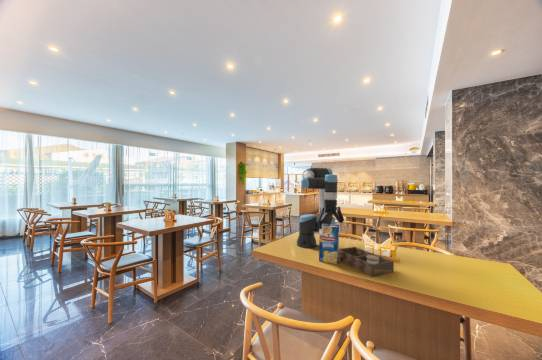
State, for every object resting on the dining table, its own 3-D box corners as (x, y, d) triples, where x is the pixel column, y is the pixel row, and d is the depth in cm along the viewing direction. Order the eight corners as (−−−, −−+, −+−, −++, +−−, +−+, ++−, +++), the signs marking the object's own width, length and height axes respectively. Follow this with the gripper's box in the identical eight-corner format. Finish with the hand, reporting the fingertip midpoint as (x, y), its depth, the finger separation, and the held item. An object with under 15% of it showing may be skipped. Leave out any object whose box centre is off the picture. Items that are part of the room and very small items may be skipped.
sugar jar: (363, 268, 124) (363, 255, 124) (371, 266, 127) (372, 254, 127) (373, 272, 118) (373, 259, 118) (381, 270, 121) (381, 258, 121)
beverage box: (337, 264, 130) (337, 227, 130) (318, 261, 134) (319, 225, 134) (338, 260, 136) (339, 225, 136) (320, 257, 140) (321, 223, 140)
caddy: (335, 258, 139) (336, 249, 139) (354, 255, 145) (354, 246, 145) (372, 276, 113) (373, 265, 113) (393, 272, 120) (393, 261, 120)
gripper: (318, 199, 127) (317, 236, 126) (350, 199, 137) (349, 233, 137) (310, 199, 134) (309, 233, 133) (341, 198, 144) (341, 230, 144)
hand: (330, 233), depth 135 cm, fingers open, 13 cm apart
